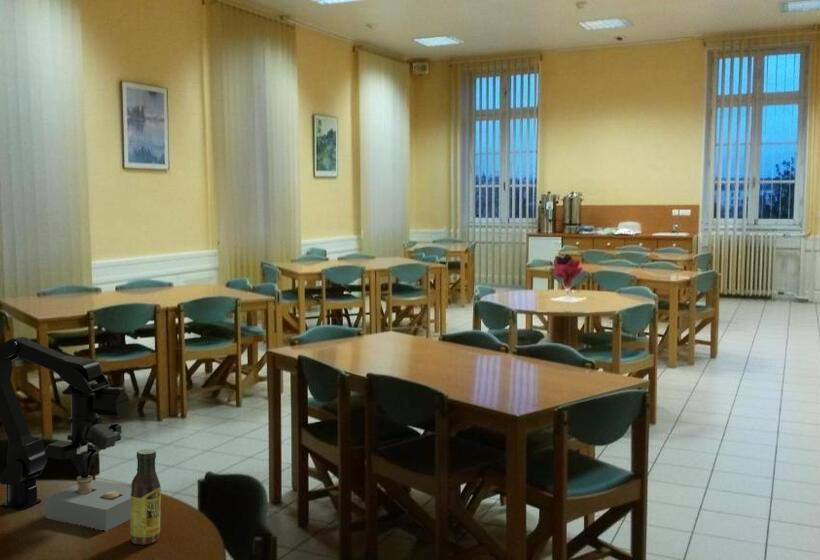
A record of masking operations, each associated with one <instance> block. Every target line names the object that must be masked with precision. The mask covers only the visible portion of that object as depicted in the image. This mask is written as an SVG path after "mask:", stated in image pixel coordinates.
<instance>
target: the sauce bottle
mask: <svg viewBox="0 0 820 560" xmlns="http://www.w3.org/2000/svg"><path fill="white" fill-rule="evenodd" d="M136 459H137V466H136V467H137V468H136V471H137V472H136V474H135V476H134V477H133V479H132V481H131V486H130V487H131V512H130V520H129V521H130V523H129V524H130V525H129V535H130V541H131V543H133V544H135V545H140V546H144V545H150V544H153V543H156V542H157V541H158V540H159V538H160V533H161V503H162V502H161V499H162V498H161V495H162V494H161V491H162V486H161V482H160V480H159V477H158V474H157V471H156V459H157V451H156V450H155V449H152V448H146V449H140V450H138V451H136Z"/></svg>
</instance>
